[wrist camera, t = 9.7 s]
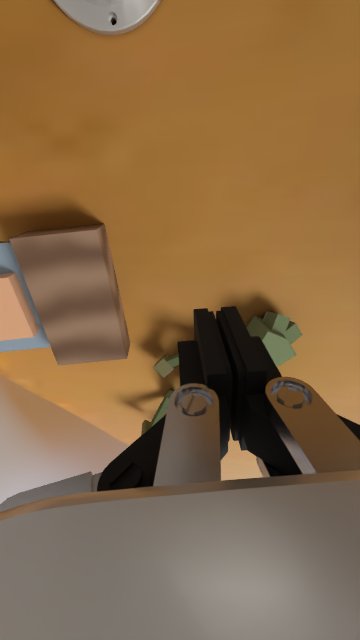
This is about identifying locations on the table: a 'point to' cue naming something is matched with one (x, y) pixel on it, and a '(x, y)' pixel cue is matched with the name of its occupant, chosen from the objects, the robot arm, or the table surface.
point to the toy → (270, 329)
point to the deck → (74, 292)
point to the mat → (5, 261)
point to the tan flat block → (15, 310)
